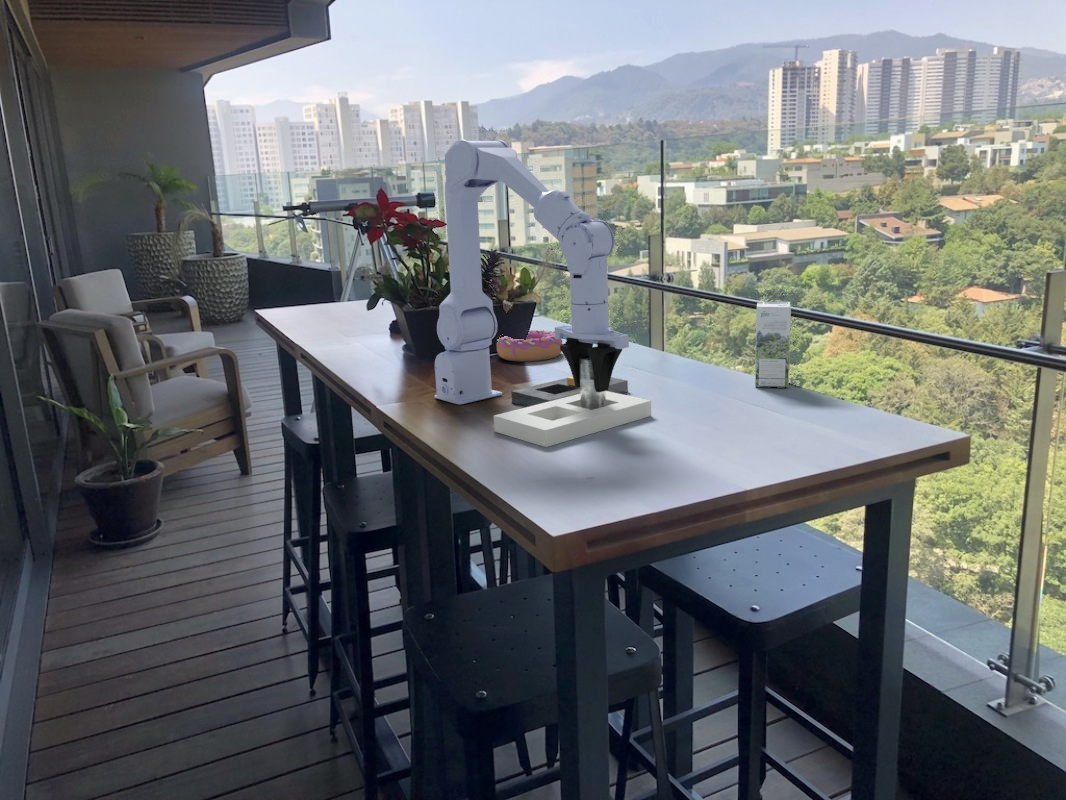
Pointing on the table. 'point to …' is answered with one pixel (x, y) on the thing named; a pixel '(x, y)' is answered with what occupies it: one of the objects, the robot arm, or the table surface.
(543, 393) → the dark grey socket tray
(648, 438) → the table surface
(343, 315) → the table surface
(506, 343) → the donut
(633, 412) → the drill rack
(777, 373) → the syrup box
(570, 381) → the bar
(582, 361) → the brushed steel cylinder
